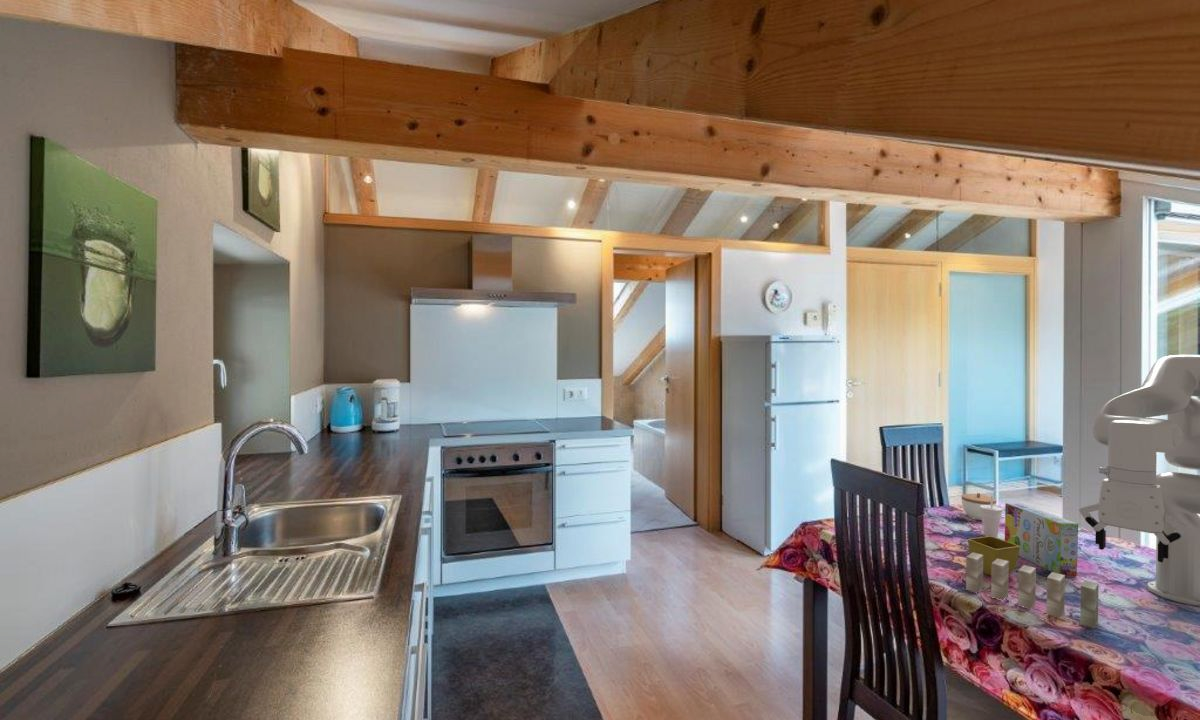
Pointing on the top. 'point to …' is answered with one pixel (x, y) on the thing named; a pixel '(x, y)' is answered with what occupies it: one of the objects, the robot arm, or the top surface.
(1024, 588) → the domino
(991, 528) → the smoothie
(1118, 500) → the robot arm
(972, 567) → the domino
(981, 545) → the flower pot
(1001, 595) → the domino
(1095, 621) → the domino
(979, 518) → the lidded jar
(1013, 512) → the snack box
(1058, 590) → the domino
